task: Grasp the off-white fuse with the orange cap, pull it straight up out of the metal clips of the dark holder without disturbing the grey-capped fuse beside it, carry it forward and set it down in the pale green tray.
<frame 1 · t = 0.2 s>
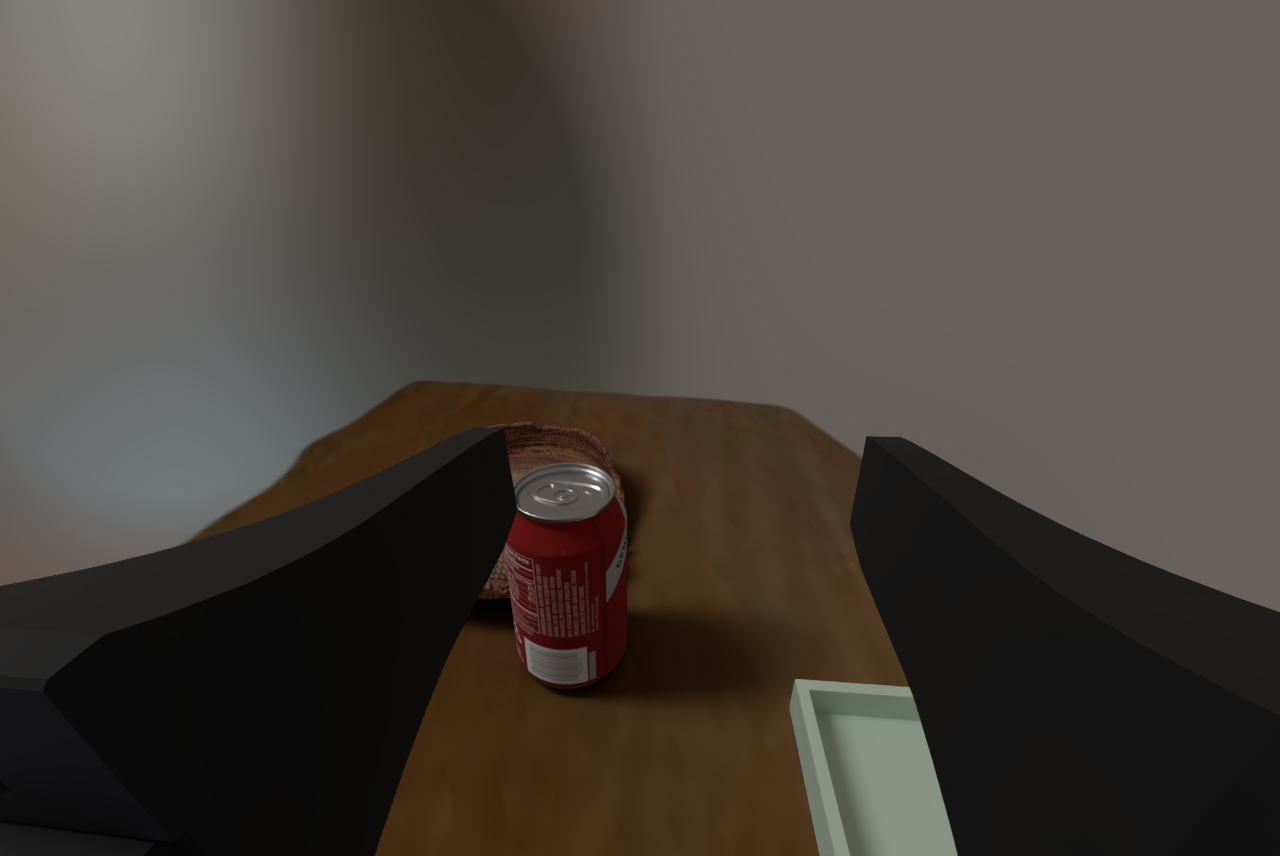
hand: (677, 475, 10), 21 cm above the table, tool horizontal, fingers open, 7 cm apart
soda can: (573, 651, 32), on the table
basket: (508, 530, 44), on the table
tray: (929, 840, 23), on the table
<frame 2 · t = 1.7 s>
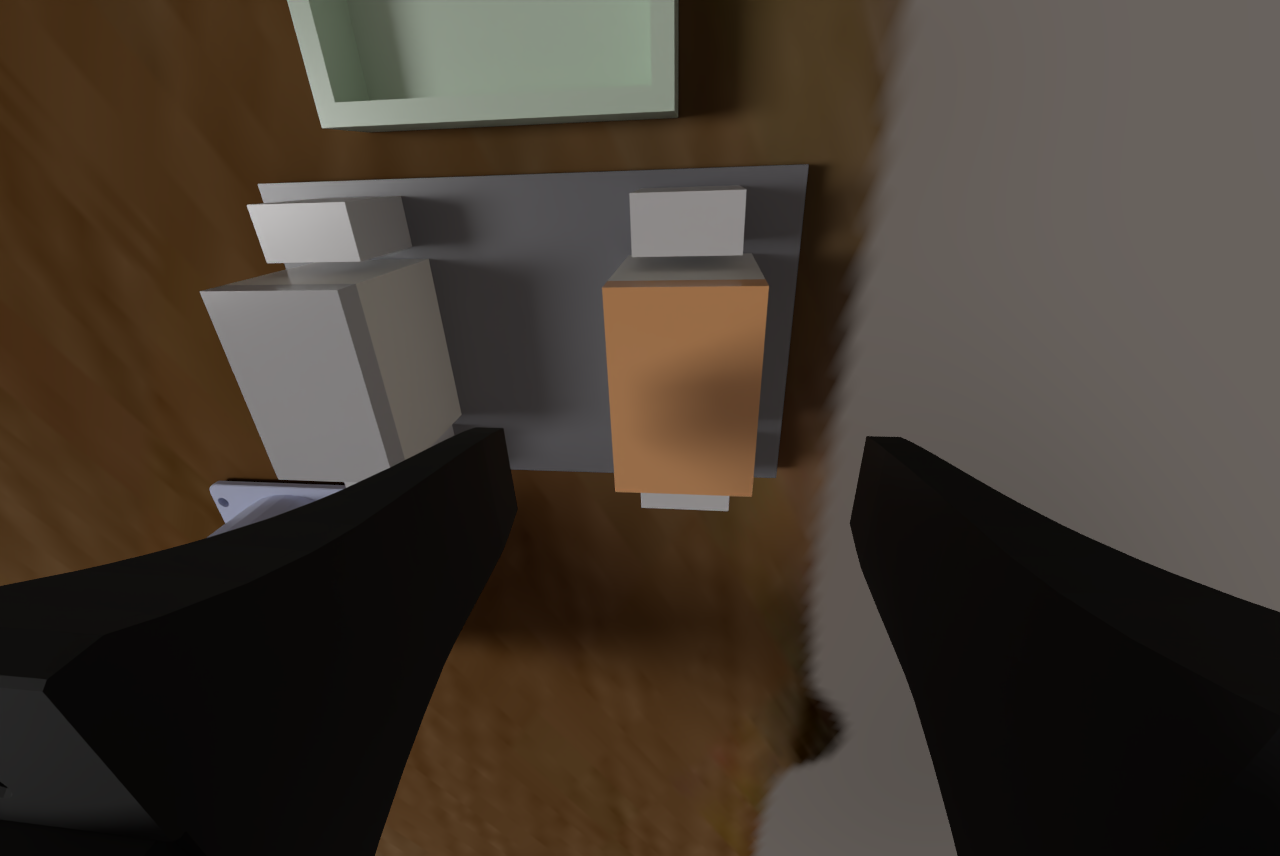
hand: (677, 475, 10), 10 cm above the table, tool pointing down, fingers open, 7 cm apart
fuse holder: (543, 336, 19), on the table
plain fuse: (396, 342, 19), point 1 cm above the table, touching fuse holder
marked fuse: (688, 343, 18), point 1 cm above the table, touching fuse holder
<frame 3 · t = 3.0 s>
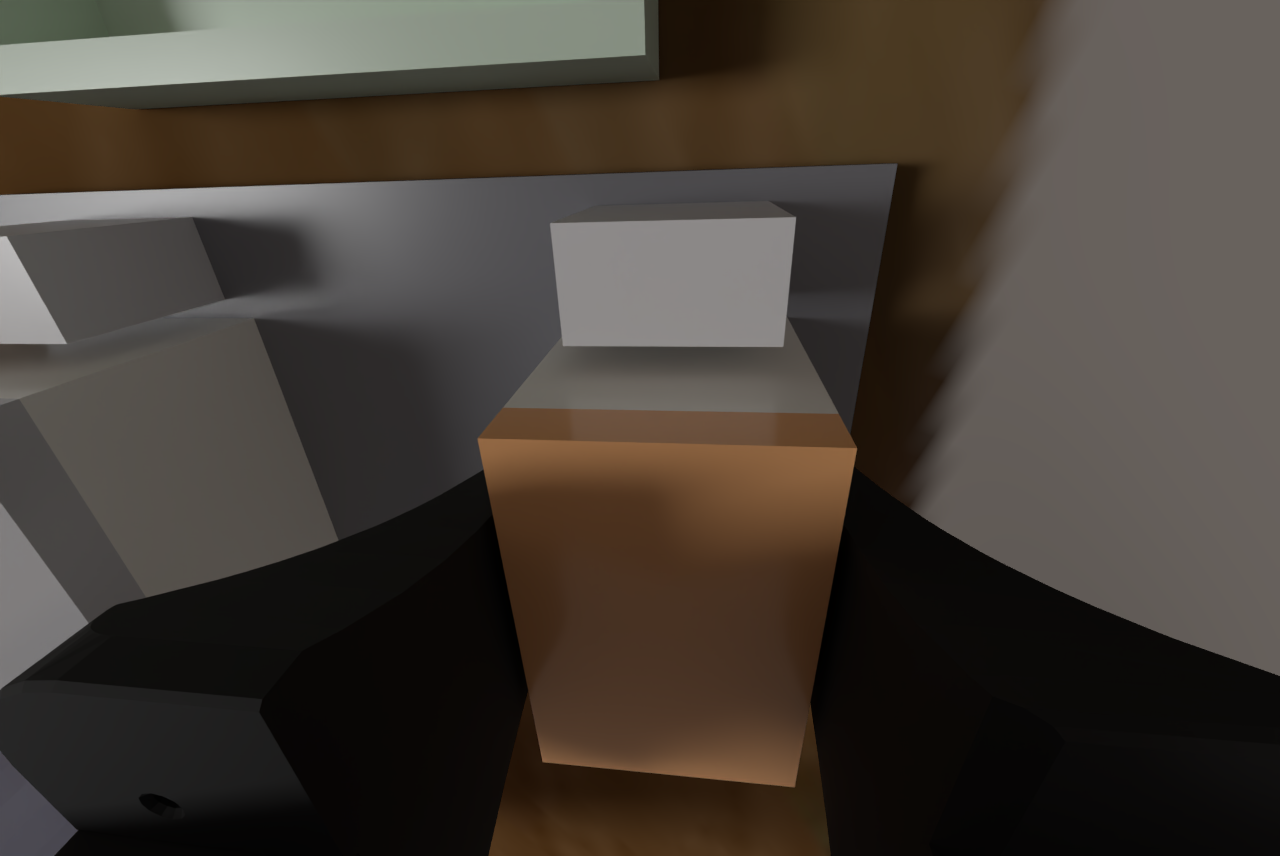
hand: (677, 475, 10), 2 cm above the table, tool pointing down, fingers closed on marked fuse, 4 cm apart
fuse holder: (455, 430, 12), on the table
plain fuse: (225, 440, 12), point 1 cm above the table, touching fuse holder
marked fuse: (679, 453, 11), point 1 cm above the table, touching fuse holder, gripper
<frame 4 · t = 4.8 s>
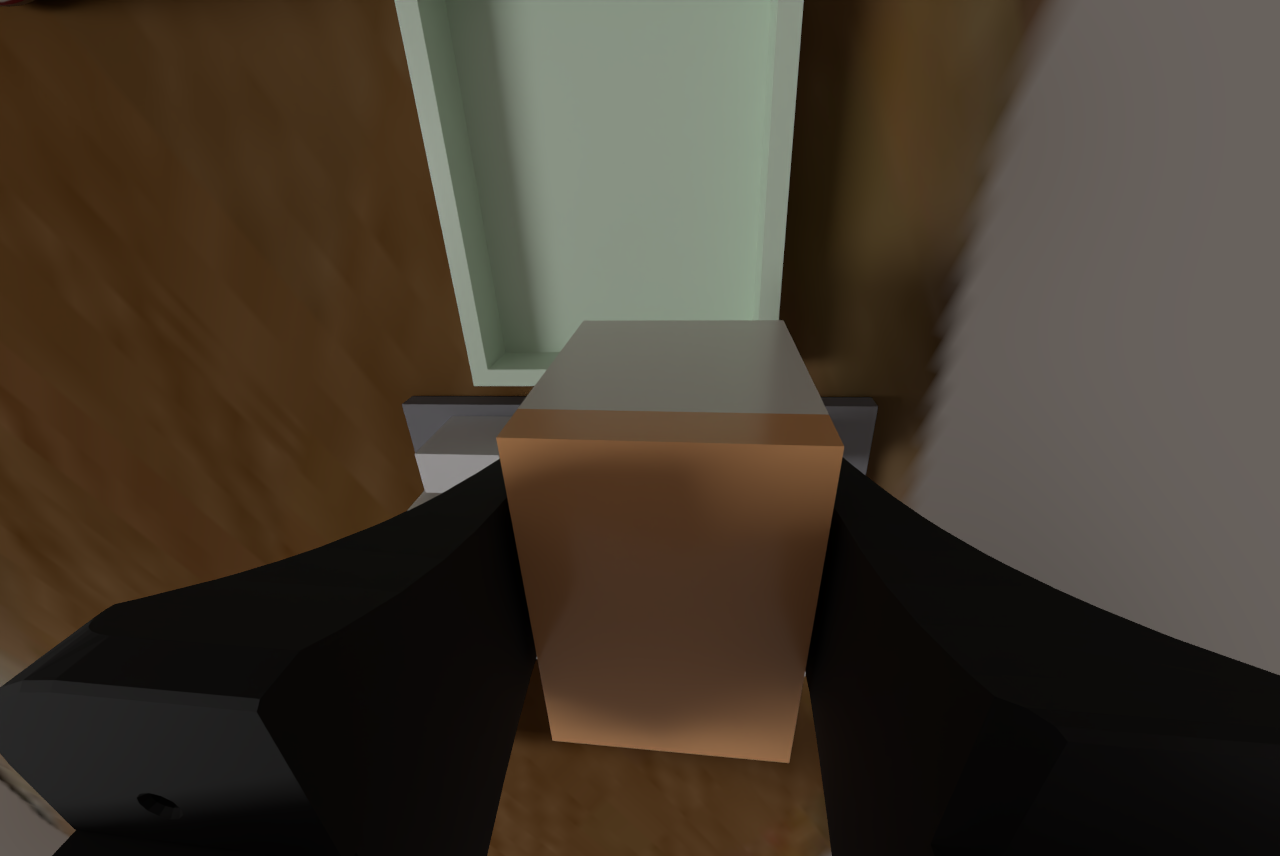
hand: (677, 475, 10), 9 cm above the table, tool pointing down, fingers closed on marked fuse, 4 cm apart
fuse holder: (636, 512, 22), on the table
tray: (616, 183, 17), on the table
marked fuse: (680, 449, 12), point 8 cm above the table, touching gripper
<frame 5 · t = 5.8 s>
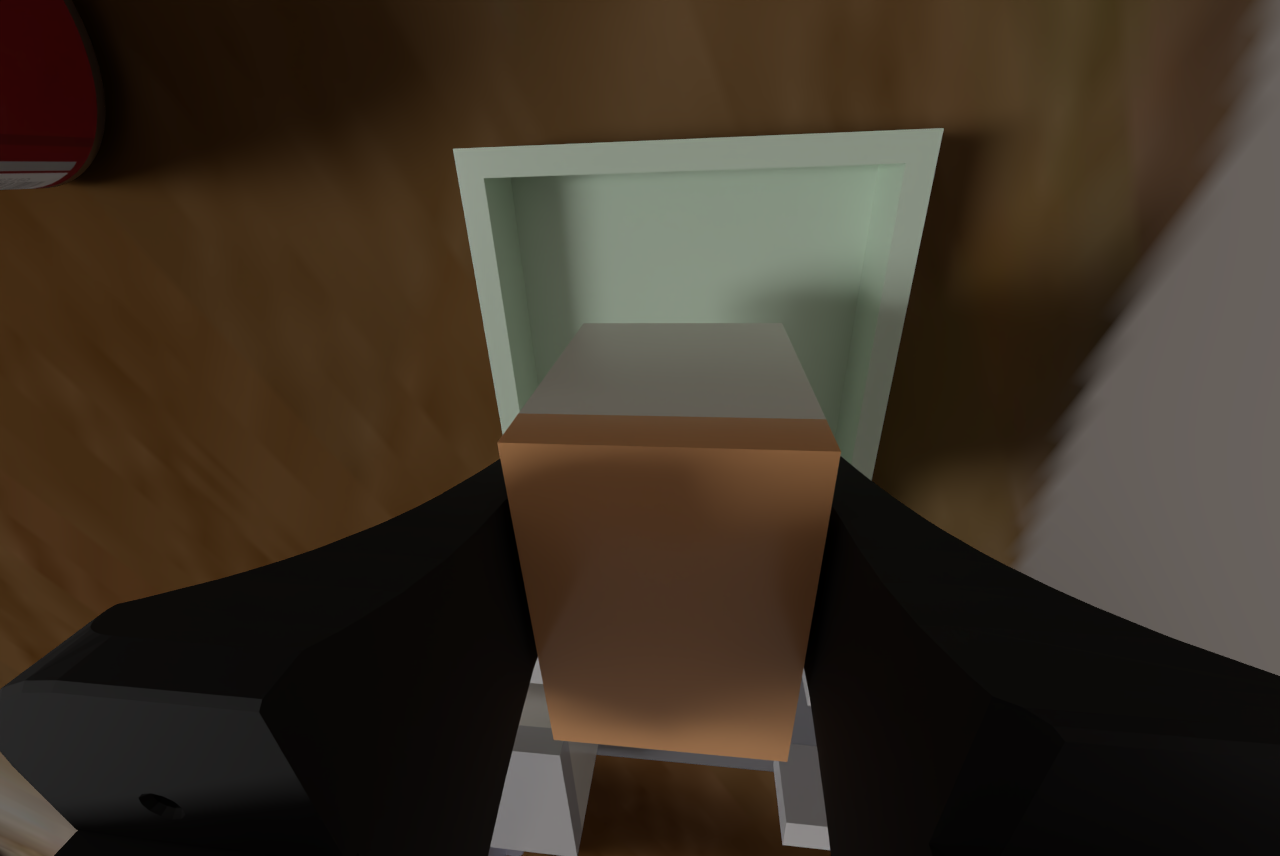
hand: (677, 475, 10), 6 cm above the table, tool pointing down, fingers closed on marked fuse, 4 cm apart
soda can: (12, 47, 14), on the table
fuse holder: (683, 665, 21), on the table
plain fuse: (550, 671, 21), point 1 cm above the table, touching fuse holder
tray: (686, 373, 15), on the table
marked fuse: (680, 451, 12), point 4 cm above the table, touching gripper
when the fingers open (3 cm above the table, at t = 6.7 s): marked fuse stays where it is, resting on tray.
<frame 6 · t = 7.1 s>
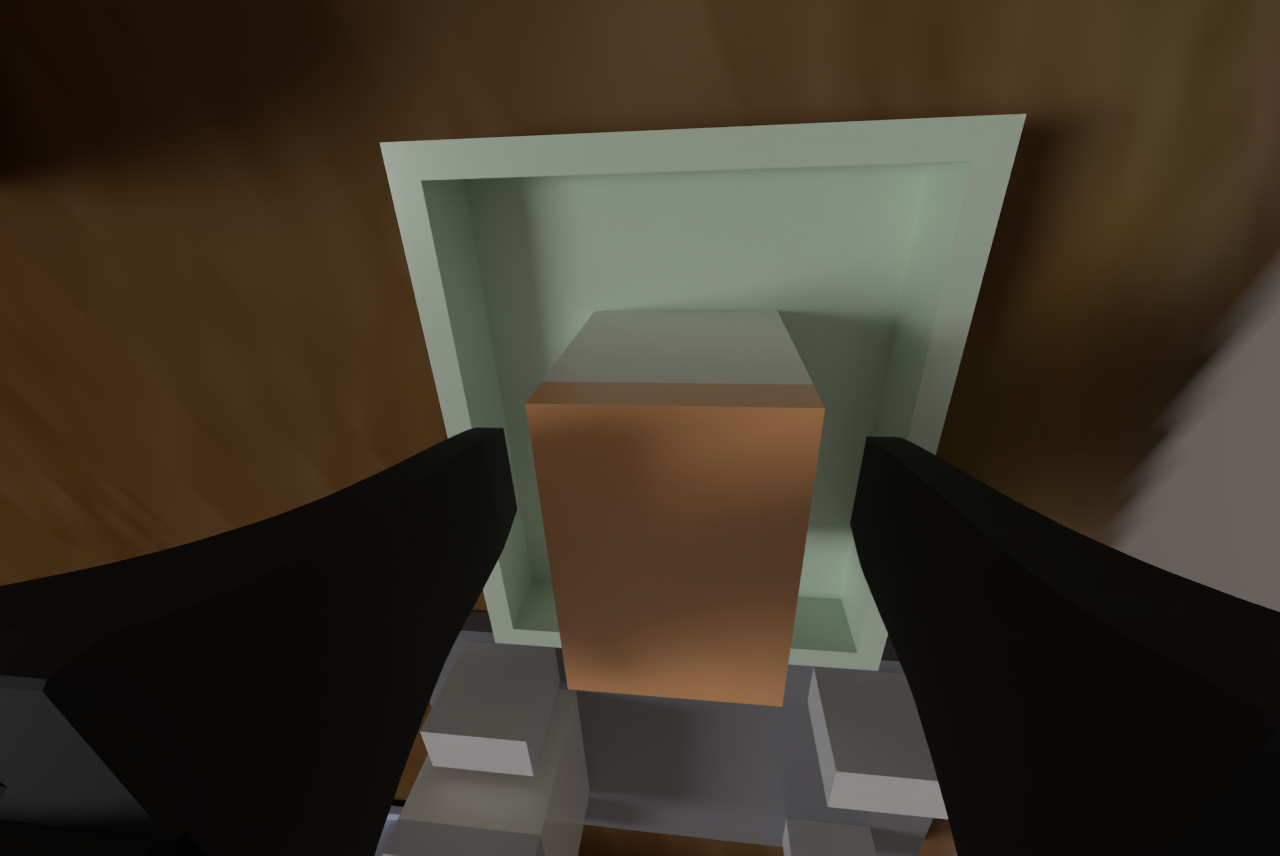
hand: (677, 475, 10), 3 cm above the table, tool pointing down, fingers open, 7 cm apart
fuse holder: (681, 731, 19), on the table
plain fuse: (530, 739, 19), point 1 cm above the table, touching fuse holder
tray: (683, 413, 13), on the table
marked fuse: (683, 431, 13), resting on tray
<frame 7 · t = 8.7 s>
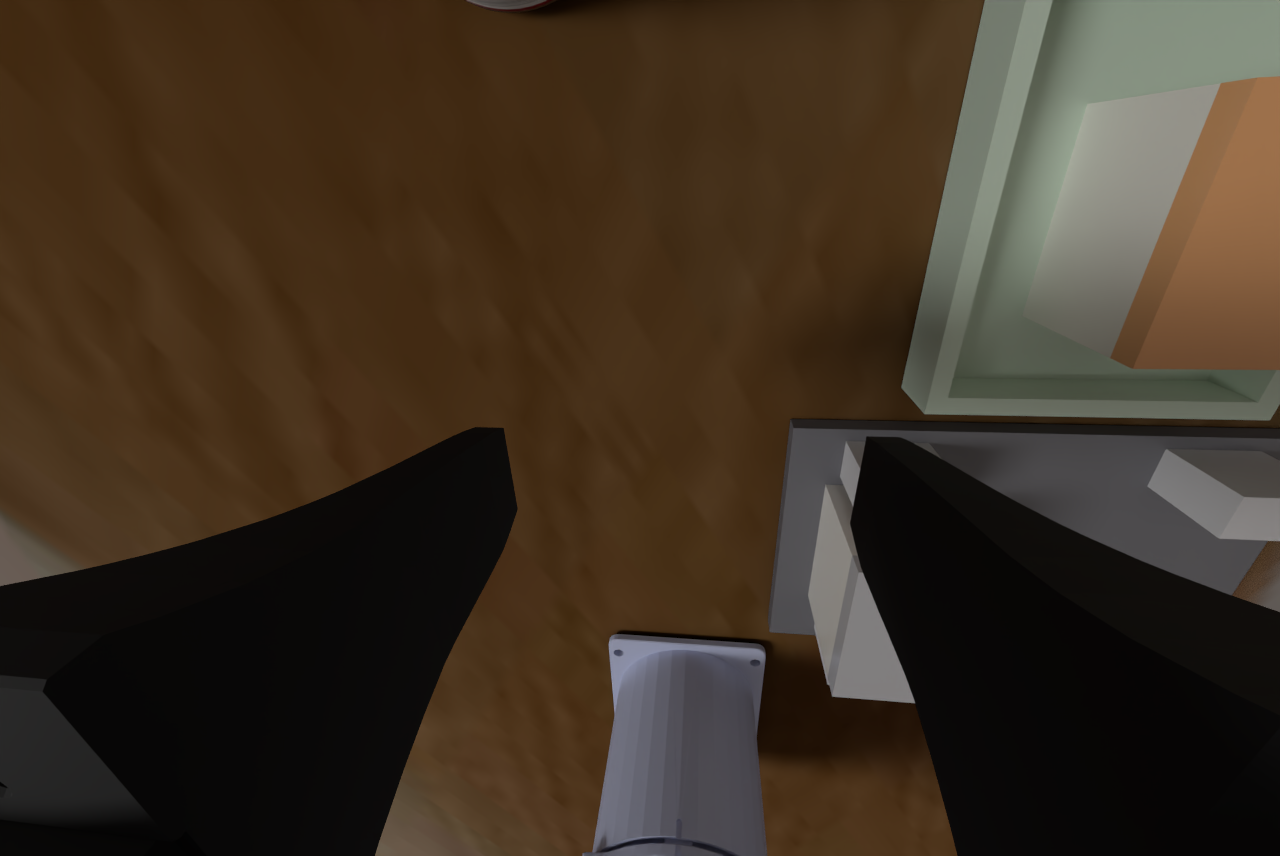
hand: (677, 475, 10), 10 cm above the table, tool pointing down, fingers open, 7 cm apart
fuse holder: (995, 539, 22), on the table
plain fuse: (865, 545, 22), point 1 cm above the table, touching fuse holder
tray: (1114, 206, 16), on the table
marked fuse: (1123, 217, 15), resting on tray
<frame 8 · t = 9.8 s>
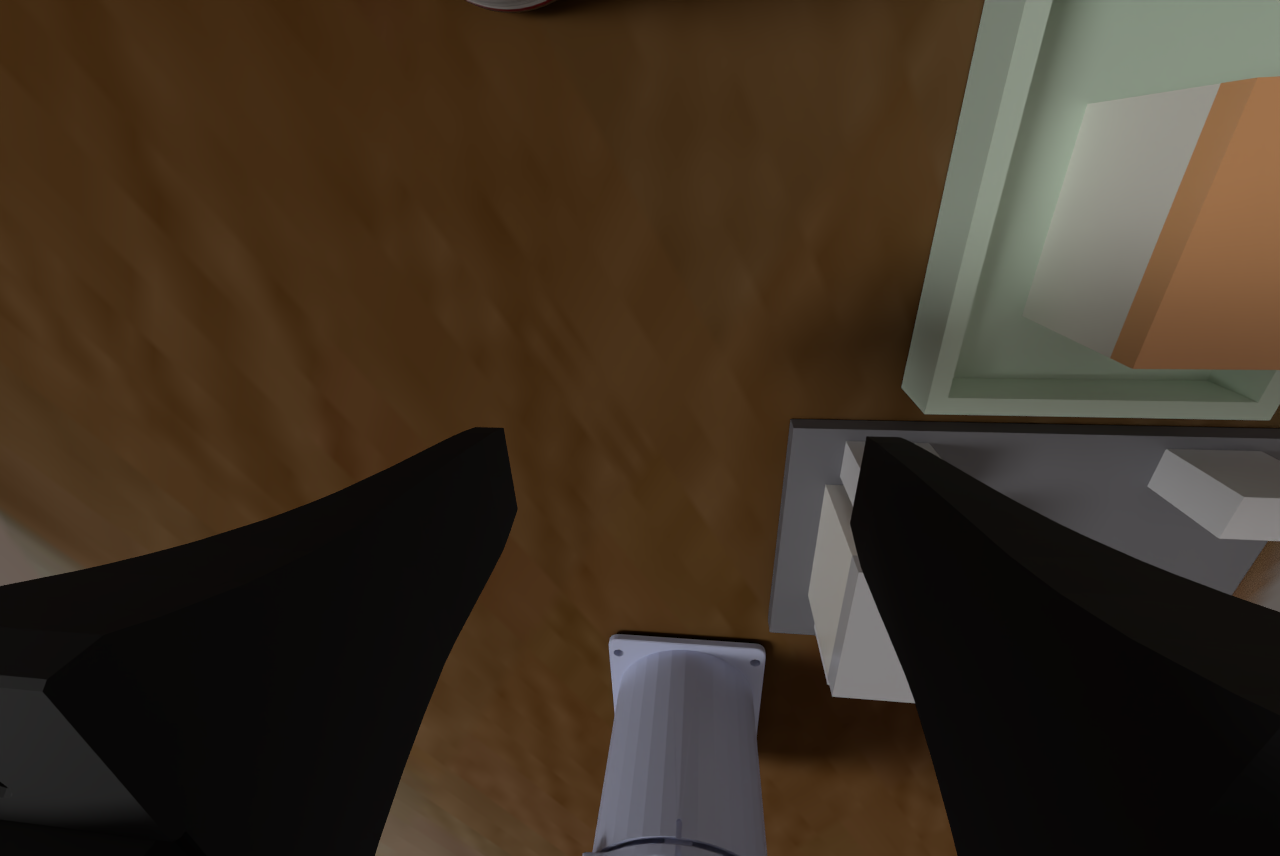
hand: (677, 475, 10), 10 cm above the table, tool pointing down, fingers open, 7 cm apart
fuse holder: (995, 539, 22), on the table
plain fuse: (865, 545, 22), point 1 cm above the table, touching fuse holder
tray: (1114, 206, 16), on the table
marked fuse: (1123, 217, 15), resting on tray
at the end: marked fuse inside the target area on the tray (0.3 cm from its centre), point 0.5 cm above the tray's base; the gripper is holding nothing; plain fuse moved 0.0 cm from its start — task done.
